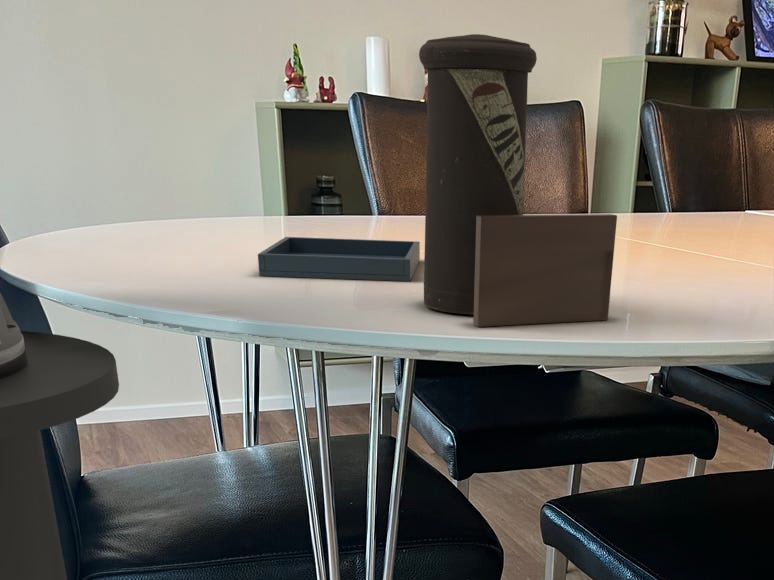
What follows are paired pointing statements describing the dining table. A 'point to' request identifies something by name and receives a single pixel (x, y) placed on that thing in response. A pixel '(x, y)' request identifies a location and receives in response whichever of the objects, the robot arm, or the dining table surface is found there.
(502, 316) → the brown wooden block
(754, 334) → the dining table surface
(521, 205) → the container
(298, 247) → the tray
